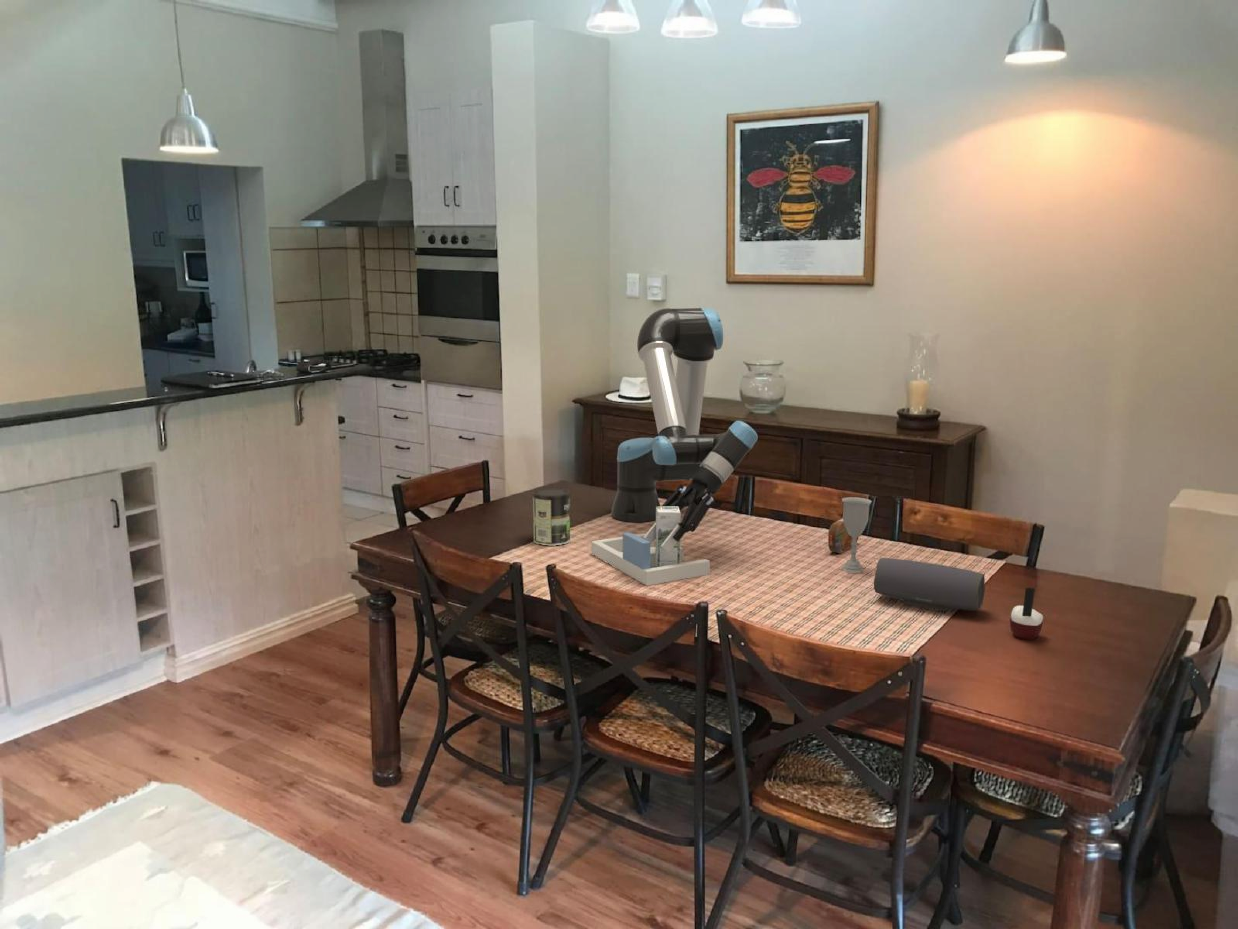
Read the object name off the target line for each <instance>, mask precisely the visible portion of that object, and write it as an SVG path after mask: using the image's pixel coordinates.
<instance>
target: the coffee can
mask: <svg viewBox="0 0 1238 929" xmlns="http://www.w3.org/2000/svg"><path fill="white" fill-rule="evenodd" d="M570 495H571V491H570V490H569V489H567V488H561V487H544V488H538V489H535V490H533V491H532V513H533V514H532V515H533V516H532V517H533V543H534V542H535V543H536V545H538V544H542V545H548V546H547V547H557V546H556V545H560V546H563V545H562V544H565V545H567V544H570V542H571V516H570V514H571V513H570V511H571V509H570V508H571V501H570V500H571V499H570V497H571V496H570ZM569 541H570V542H569ZM535 543H534V544H535ZM542 545H541V546H542Z"/></svg>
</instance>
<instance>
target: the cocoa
mask: <svg viewBox="0 0 1238 929" xmlns="http://www.w3.org/2000/svg"><path fill="white" fill-rule="evenodd" d="M1035 592H1036V589H1035V588H1033V587H1031V588H1030V587H1026V588H1025V592H1024V600H1023V605H1016V606H1014V607H1013V608H1012V609H1011V610H1012V611H1011V613H1010V619H1009V626H1010V631H1011V632H1012V634H1013V635H1014V636H1015V637H1017V638H1018V639H1022V640H1026V641H1027V640H1033V639H1036V638H1037V637H1038V636H1039V635H1040V634H1041V631H1042V628H1043V624H1044V623H1043V621H1044V620H1043V619H1044V616H1043V614H1042V613H1040V612H1038V611H1037V610H1036V609H1033V607H1034V599H1035Z"/></svg>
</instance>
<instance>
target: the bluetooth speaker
mask: <svg viewBox="0 0 1238 929" xmlns="http://www.w3.org/2000/svg"><path fill="white" fill-rule="evenodd" d="M876 564H877V565H876V569H875V573H874V574H875V575H874V579H873V590H874V592H875V593H876V594H879V595H883V596H884V597H885V596H886V597H890V598H895V599H898V600H902V601H903V603H904V604H905V605H908V606H912V607H917V608H922V609H929V610H932V611H933V610H934V611H939V612H951V610H952V609H953V610H954V609H955V610H965V611H976V612H979V611H980V610H981V608H982V606H983V603H984V598H985V590H986V584H985V581H986V580H985V577H986V576H985V574H984V573H981V572H977V571H975V570H974V571H973V570H969V569H964V568H959V567H955V566H954V567H953V566H948V565H943V564H939V563H938V564H937V563H930V562H926V561H925V562H923V561H917V560H908V559H900V558H892V557H891V558H889V557H881V558H879V559H878V561H877V563H876Z"/></svg>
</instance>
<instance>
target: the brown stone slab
mask: <svg viewBox="0 0 1238 929" xmlns="http://www.w3.org/2000/svg"><path fill="white" fill-rule="evenodd" d="M827 536H828V538H827V540H828V544H827V545H828V548H829V551H830V552H831V553H836V554H844V553H846V552H847V551H850V549H852V545H851V543H852V540H853V539H852V536H850V535H849V534H848V532H847V530H846V527H845V525H844V521H843V517H842V518H840V519H838V520H836V521H834V522H832V523H831V524H830V527H829V529H828V533H827ZM858 540H859V537H857V539H856V542H857V543H858Z"/></svg>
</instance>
